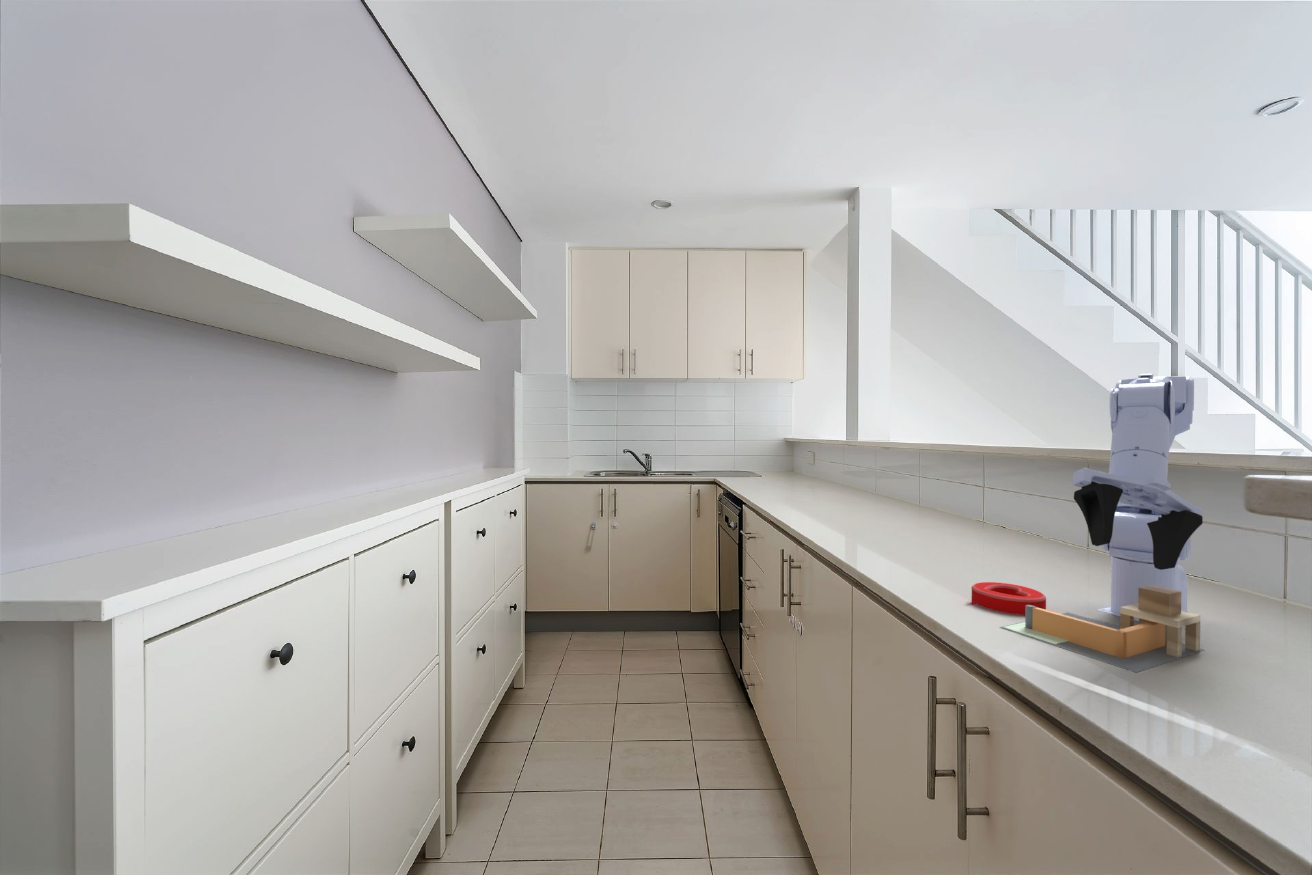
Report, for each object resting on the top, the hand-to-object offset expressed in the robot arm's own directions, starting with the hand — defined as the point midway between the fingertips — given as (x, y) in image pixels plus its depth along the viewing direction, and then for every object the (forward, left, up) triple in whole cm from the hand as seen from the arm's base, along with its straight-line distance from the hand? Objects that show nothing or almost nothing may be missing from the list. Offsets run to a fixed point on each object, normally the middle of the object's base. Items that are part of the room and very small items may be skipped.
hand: (1132, 555), depth 65 cm
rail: (0, -4, -11) cm, 12 cm away
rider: (-4, +1, -11) cm, 12 cm away
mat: (0, -3, -12) cm, 12 cm away
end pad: (+5, -7, -12) cm, 15 cm away
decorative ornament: (-3, -17, -12) cm, 21 cm away
